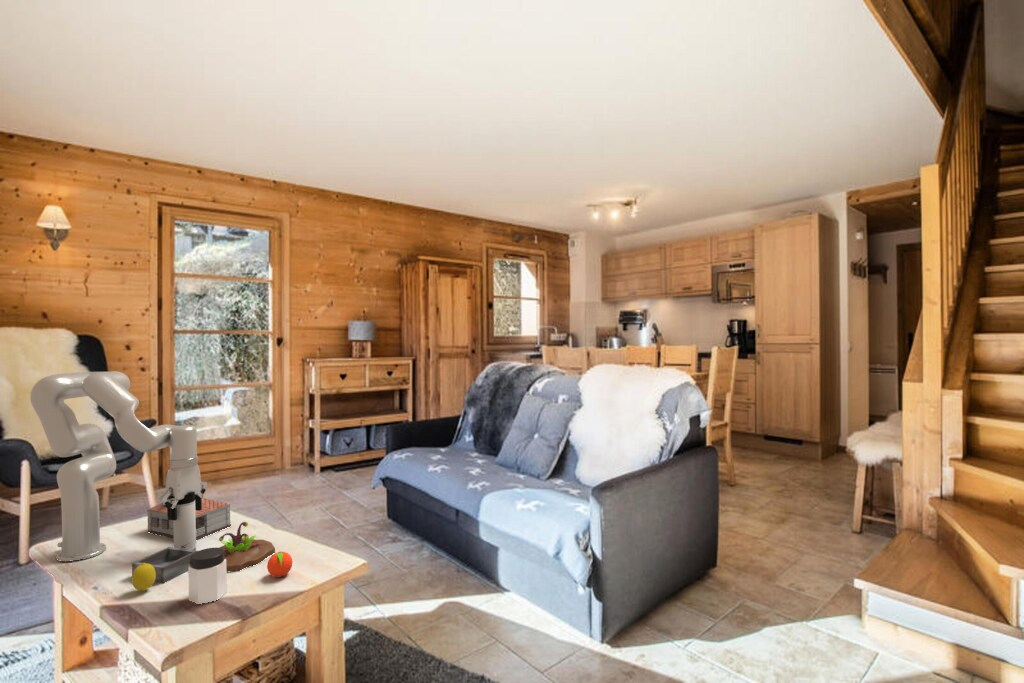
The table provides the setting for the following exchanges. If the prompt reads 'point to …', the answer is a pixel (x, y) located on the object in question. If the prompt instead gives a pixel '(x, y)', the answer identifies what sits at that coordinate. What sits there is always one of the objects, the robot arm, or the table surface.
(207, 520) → the model house
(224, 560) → the jar
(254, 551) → the plant
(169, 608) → the table surface
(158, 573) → the grey tray
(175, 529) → the travel mug
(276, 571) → the clementine
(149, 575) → the lemon
